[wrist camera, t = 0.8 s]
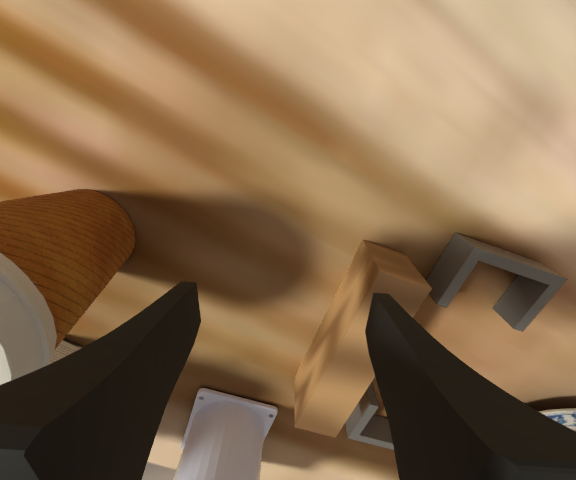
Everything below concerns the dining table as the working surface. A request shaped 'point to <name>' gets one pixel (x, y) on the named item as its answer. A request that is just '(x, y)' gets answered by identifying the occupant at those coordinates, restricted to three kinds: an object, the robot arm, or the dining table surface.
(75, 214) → the disposable coffee cup
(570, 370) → the dining table surface
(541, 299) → the end cap
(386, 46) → the dining table surface
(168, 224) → the dining table surface
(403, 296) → the slat
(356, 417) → the end cap
